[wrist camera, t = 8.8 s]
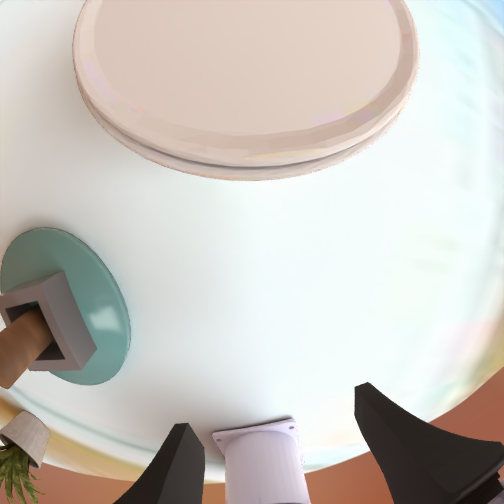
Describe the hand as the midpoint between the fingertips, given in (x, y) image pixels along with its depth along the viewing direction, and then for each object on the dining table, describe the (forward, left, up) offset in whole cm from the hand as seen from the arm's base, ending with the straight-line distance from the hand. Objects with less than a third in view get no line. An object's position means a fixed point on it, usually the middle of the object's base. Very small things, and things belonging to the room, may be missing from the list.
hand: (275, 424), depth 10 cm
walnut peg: (+4, +16, -8) cm, 18 cm away
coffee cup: (+14, -2, -10) cm, 17 cm away
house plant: (-11, +35, -10) cm, 38 cm away
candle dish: (+4, +16, -9) cm, 19 cm away
